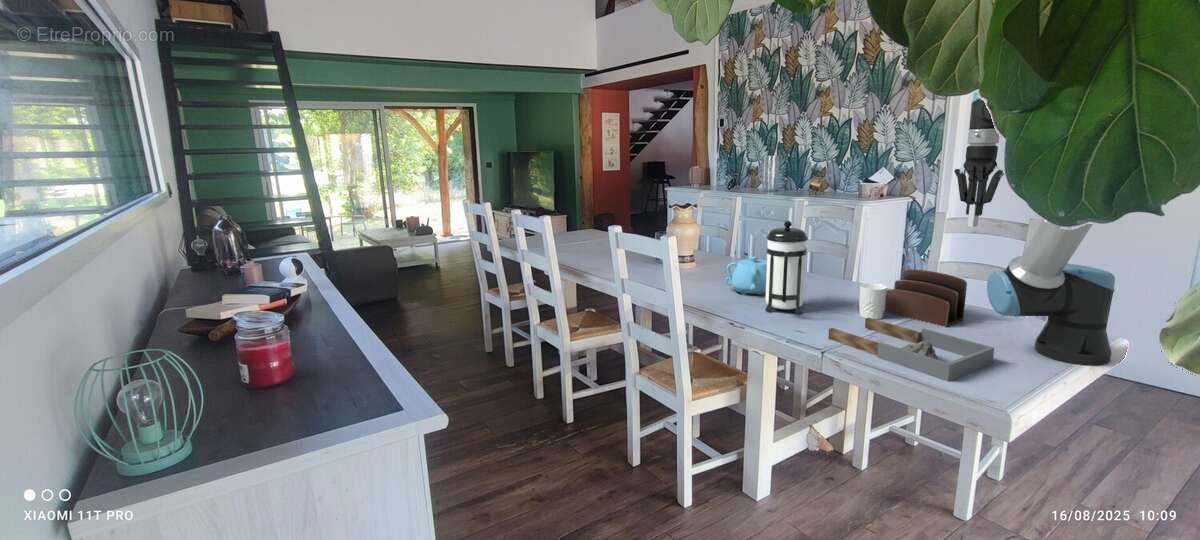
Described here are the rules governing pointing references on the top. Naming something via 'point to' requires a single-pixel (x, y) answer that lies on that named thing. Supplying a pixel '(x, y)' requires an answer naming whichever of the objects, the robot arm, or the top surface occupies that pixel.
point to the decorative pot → (748, 276)
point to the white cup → (872, 300)
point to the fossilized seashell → (922, 349)
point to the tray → (973, 360)
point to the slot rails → (876, 326)
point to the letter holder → (928, 297)
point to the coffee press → (785, 268)
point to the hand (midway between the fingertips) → (972, 226)
